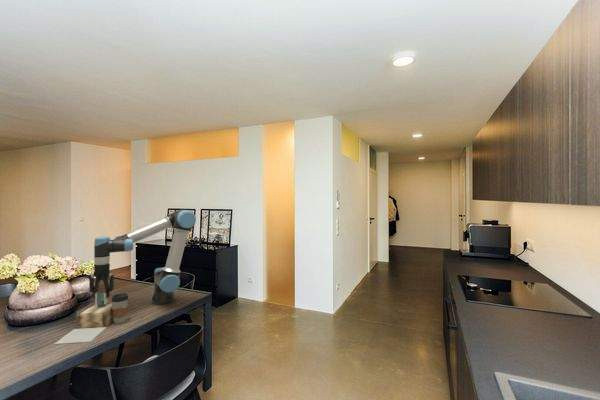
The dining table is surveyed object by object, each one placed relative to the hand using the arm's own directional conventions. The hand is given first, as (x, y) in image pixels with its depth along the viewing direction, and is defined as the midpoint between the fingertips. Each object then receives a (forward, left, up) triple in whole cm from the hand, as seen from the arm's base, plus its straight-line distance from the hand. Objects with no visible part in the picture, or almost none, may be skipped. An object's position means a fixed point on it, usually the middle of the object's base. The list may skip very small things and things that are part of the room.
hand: (101, 303), depth 167 cm
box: (0, +3, -10) cm, 10 cm away
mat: (0, +20, -10) cm, 22 cm away
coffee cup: (-11, +4, -10) cm, 15 cm away
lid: (0, +3, -3) cm, 4 cm away
